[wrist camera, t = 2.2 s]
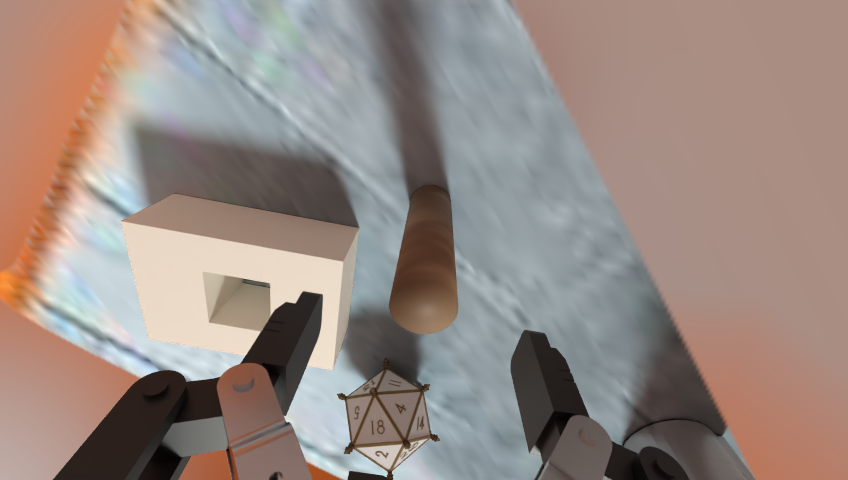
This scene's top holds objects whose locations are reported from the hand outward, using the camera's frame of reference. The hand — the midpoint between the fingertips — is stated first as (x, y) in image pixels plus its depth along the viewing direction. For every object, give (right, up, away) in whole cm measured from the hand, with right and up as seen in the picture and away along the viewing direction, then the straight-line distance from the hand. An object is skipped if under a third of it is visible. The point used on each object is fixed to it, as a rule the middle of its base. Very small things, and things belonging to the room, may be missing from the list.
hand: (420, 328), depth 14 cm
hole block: (-13, +1, +15) cm, 20 cm away
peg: (+1, +6, +12) cm, 14 cm away
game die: (-3, -10, +21) cm, 24 cm away
